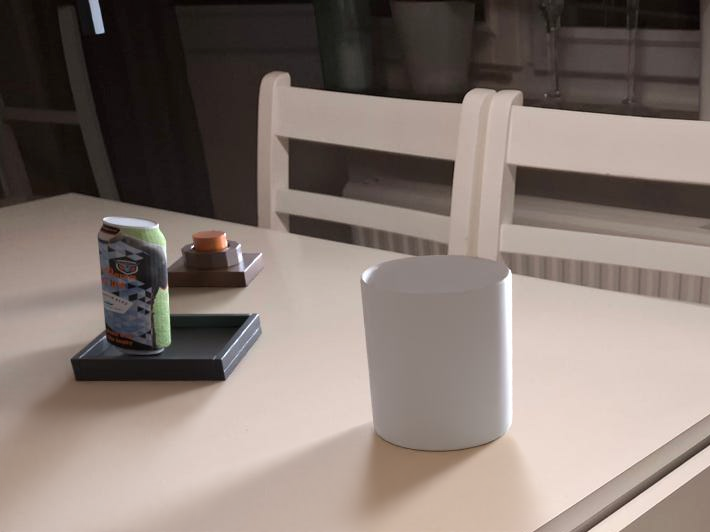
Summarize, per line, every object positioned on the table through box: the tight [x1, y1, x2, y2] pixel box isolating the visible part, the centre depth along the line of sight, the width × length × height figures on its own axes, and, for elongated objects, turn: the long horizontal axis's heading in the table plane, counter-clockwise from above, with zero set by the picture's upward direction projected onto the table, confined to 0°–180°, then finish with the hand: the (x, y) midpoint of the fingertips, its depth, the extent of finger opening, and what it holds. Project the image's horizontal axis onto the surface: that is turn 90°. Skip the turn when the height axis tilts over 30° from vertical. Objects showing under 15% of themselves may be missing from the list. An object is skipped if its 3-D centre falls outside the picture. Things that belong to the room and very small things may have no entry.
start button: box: [191, 230, 228, 251], centre depth 122 cm, size 4×4×2 cm
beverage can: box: [97, 216, 171, 355], centre depth 96 cm, size 6×7×12 cm
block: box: [167, 239, 265, 288], centre depth 124 cm, size 10×9×4 cm
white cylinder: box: [359, 254, 513, 452], centre depth 81 cm, size 12×12×12 cm
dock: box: [70, 313, 263, 381], centre depth 100 cm, size 15×15×2 cm
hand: (94, 33), depth 115 cm, fingers closed
